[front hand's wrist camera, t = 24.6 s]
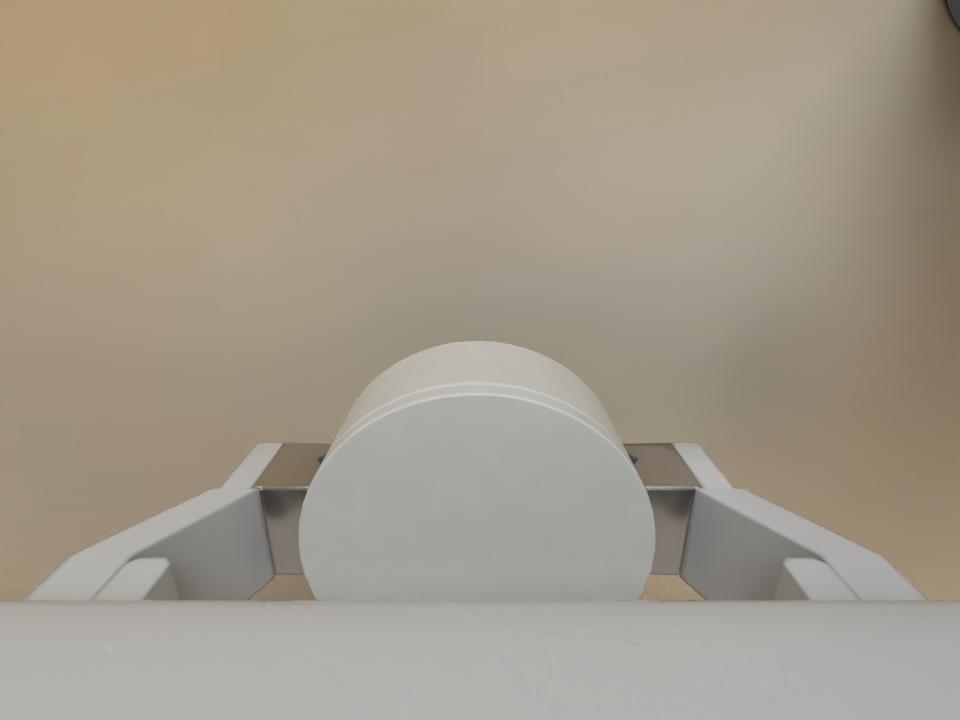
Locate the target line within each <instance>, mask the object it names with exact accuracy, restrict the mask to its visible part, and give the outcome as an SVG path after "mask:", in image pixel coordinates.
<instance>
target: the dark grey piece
mask: <svg viewBox="0 0 960 720" xmlns="http://www.w3.org/2000/svg"><path fill="white" fill-rule="evenodd" d="M947 4H948V7H949V10H950V12H951V14H952V16H953V18H954V20H955V22H956V23H957V25H958V26H959V28H960V0H947Z"/></svg>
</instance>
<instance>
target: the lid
mask: <svg viewBox="0 0 960 720" xmlns="http://www.w3.org/2000/svg"><path fill="white" fill-rule="evenodd" d="M655 541H656V528H655V521H654V514H653V509H652V506H651V503H650V499H649V496H648V493H647V490H646V488H645V486H644V485H643V483H642V481H641V479H640V477H639V475H638V473H637V471H636V469H635V467H634V465H633V463H632V461H631V459H630V457H629V455H628V453H627V451H626V449H625V448H624V446H623V444H622V442H621V440H620V438H619V436H618V434H617V432H616V430H615V428H614V426H613V424H612V422H611V420H610V419H609V417H608V415H607V413H606V411H605V409H604V407H603V405H602V404H601V403H600V401H599V400H598V398H597V397H596V396H595V394H594V393H593V392H592V391H591V390H590V388H589V387H588V386H587V385H586V384H585V383H584V382H583V381H582V380H581V379H580V378H579V377H577V376H576V375H575V374H573V373H572V372H571V371H570V370H568V369H567V368H566V367H564V366H563V365H561V364H559V363H557V362H556V361H554V360H552V359H551V358H549V357H547V356H544V355H542V354H539V353H537V352H535V351H532V350H530V349H526V348H522V347H519V346H515V345H512V344H505V343H499V342H492V341H466V342H456V343H449V344H445V345H440V346H436V347H431V348H429V349H426V350H423V351H421V352H418V353H415V354H412V355H411V356H409V357H407V358H405V359H403V360H401V361H399V362H397V363H395V364H394V365H393V366H391V367H390V368H388V369H387V370H385V371H384V372H383V373H381V374H380V375H379V376H378V377H377V378H376V379H375V380H374V381H372V382H371V383H370V384H369V385H368V386H367V387H366V388H365V390H364V391H363V392H362V393H361V395H360V396H359V397H358V398H357V400H356V401H355V403H354V405H353V406H352V408H351V410H350V411H349V413H348V415H347V417H346V418H345V420H344V422H343V424H342V426H341V428H340V430H339V432H338V433H337V435H336V437H335V439H334V441H333V443H332V445H331V446H330V448H329V450H328V452H327V454H326V456H325V458H324V459H323V461H322V463H321V465H320V467H319V469H318V471H317V472H316V474H315V476H314V478H313V480H312V482H311V484H310V486H309V489H308V491H307V494H306V496H305V499H304V502H303V506H302V510H301V515H300V520H299V537H298V542H299V550H300V558H301V563H302V567H303V570H304V574H305V577H306V580H307V582H308V585H309V587H310V589H311V591H312V593H313V595H314V597H315V599H316V600H639V598H640V596H641V594H642V592H643V590H644V588H645V586H646V583H647V581H648V578H649V575H650V572H651V569H652V564H653V559H654V554H655Z"/></svg>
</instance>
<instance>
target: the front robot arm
mask: <svg viewBox="0 0 960 720" xmlns="http://www.w3.org/2000/svg"><path fill="white" fill-rule="evenodd" d="M331 445H332V444H324V443H285V442H275V443H259V444H256V445H255V447H254V448H253V449H252V450H251V452H250V453H249V454H248V455H247V456H246V458H245V459H244V460H243V461H242V462H241V464H240V465H239V466H238V467H237V469H236V470H235V471H234V472H233V473H232V475H231V476H230V477H229V478H228V480H227V481H226V482H225V483H224V484H223V486H222V487H221V488H212V489H210V490H207V491H205V492H203V493H201V494H199V495H197V496H195V497H193V498H191V499H188V500H186V501H184V502H182V503H180V504H178V505H176V506H174V507H171V508H169V509H167V510H165V511H163V512H161V513H159V514H157V515H155V516H152V517H150V518H148V519H146V520H144V521H142V522H140V523H138V524H136V525H133V526H131V527H129V528H127V529H125V530H123V531H121V532H119V533H117V534H114V535H112V536H110V537H108V538H106V539H104V540H102V541H100V542H98V543H95V544H93V545H91V546H89V547H87V548H85V549H83V550H81V551H79V552H76V553H74V554H72V555H70V556H69V557H68V558H67V559H66V560H65V561H64V562H63V563H62V564H61V565H60V566H59V567H57V568H56V569H55V570H54V571H53V572H52V573H51V574H50V575H49V576H48V577H47V578H46V579H45V580H44V581H43V582H42V583H40V584H39V585H38V586H37V587H36V588H35V589H34V590H33V591H32V592H31V593H30V594H29V595H28V596H27V597H26V598H24V599H23V600H0V720H960V600H929V599H928V598H927V597H926V596H925V595H923V594H922V593H921V592H920V591H919V590H918V589H917V588H916V587H915V586H914V585H913V584H912V583H911V582H910V581H909V580H908V579H907V578H906V577H905V576H904V575H903V574H902V573H901V572H900V571H899V570H898V569H896V568H895V567H894V566H893V565H892V564H891V563H890V562H889V561H888V560H887V559H886V558H885V557H884V556H882V555H880V554H878V553H876V552H874V551H872V550H870V549H868V548H866V547H864V546H861V545H859V544H857V543H855V542H853V541H851V540H849V539H847V538H845V537H843V536H841V535H839V534H836V533H834V532H832V531H830V530H828V529H826V528H824V527H822V526H820V525H818V524H816V523H814V522H811V521H809V520H807V519H805V518H803V517H801V516H799V515H797V514H795V513H793V512H791V511H788V510H786V509H784V508H782V507H780V506H778V505H776V504H774V503H772V502H770V501H768V500H766V499H763V498H761V497H759V496H757V495H755V494H753V493H751V492H749V491H747V490H745V489H743V488H733V486H732V485H731V484H730V483H729V482H728V480H727V479H726V478H725V477H724V475H723V474H722V473H721V472H720V470H719V469H718V468H717V467H716V465H715V464H714V463H713V462H712V460H711V459H710V458H709V457H708V455H707V454H706V453H705V452H704V451H703V449H702V448H701V447H700V446H699V444H697V443H694V442H685V443H643V444H623V446H624V448H625V449H626V451H627V453H628V455H629V457H630V459H631V461H632V463H633V465H634V467H635V469H636V471H637V473H638V475H639V477H640V479H641V481H642V483H643V485H644V486H645V488H646V490H647V493H648V496H649V499H650V503H651V506H652V509H653V514H654V521H655V528H656V541H655V554H654V559H653V564H652V569H651V572H650V574H655V575H680V578H681V579H683V580H684V581H685V582H686V583H687V584H688V585H689V586H691V587H692V588H693V589H694V590H695V591H696V592H697V593H699V594H700V595H701V596H702V597H703V598H704V599H705V600H249V599H250V598H251V597H253V596H254V595H255V594H256V593H257V592H258V591H260V590H261V589H262V588H263V587H264V586H265V585H267V584H268V583H269V582H270V581H271V580H272V579H274V575H299V574H304V570H303V567H302V563H301V558H300V550H299V542H298V537H299V520H300V515H301V510H302V506H303V502H304V499H305V496H306V494H307V491H308V489H309V486H310V484H311V482H312V480H313V478H314V476H315V474H316V472H317V471H318V469H319V467H320V465H321V463H322V461H323V459H324V458H325V456H326V454H327V452H328V450H329V448H330V446H331Z"/></svg>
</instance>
